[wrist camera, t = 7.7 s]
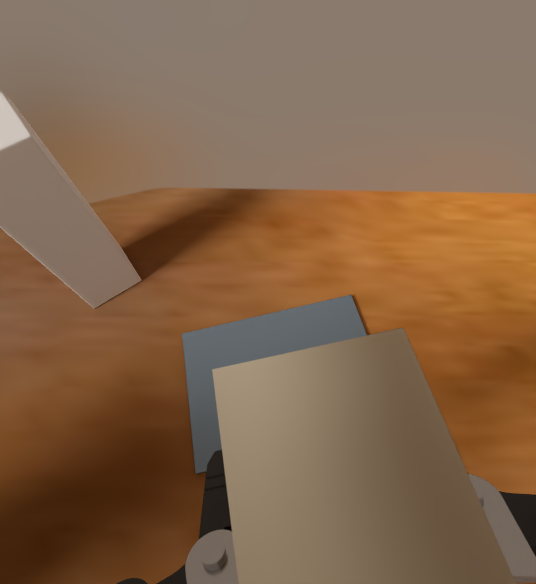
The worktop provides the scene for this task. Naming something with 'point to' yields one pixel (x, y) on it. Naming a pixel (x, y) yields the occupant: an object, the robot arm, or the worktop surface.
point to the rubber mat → (255, 355)
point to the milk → (55, 215)
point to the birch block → (348, 471)
